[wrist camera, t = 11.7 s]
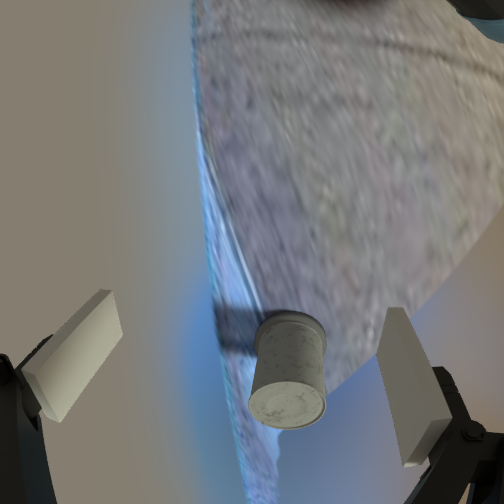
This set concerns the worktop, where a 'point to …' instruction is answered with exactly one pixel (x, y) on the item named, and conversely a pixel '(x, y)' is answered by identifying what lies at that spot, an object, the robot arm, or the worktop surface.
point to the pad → (290, 317)
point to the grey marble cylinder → (288, 377)
